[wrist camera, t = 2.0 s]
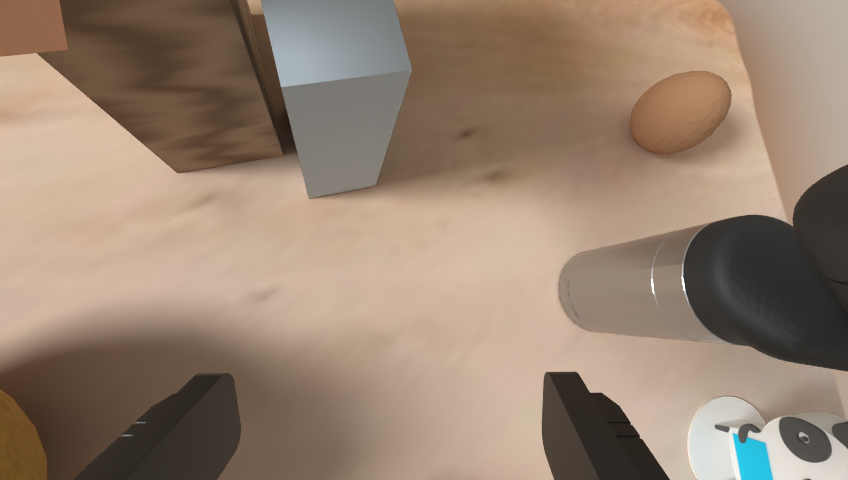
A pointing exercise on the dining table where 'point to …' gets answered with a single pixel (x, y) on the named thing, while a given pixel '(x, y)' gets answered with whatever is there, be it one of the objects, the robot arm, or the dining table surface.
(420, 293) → the dining table surface
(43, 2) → the bar
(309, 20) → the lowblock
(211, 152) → the stand
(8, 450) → the vase
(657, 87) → the egg
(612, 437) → the robot arm
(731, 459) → the panda figurine
